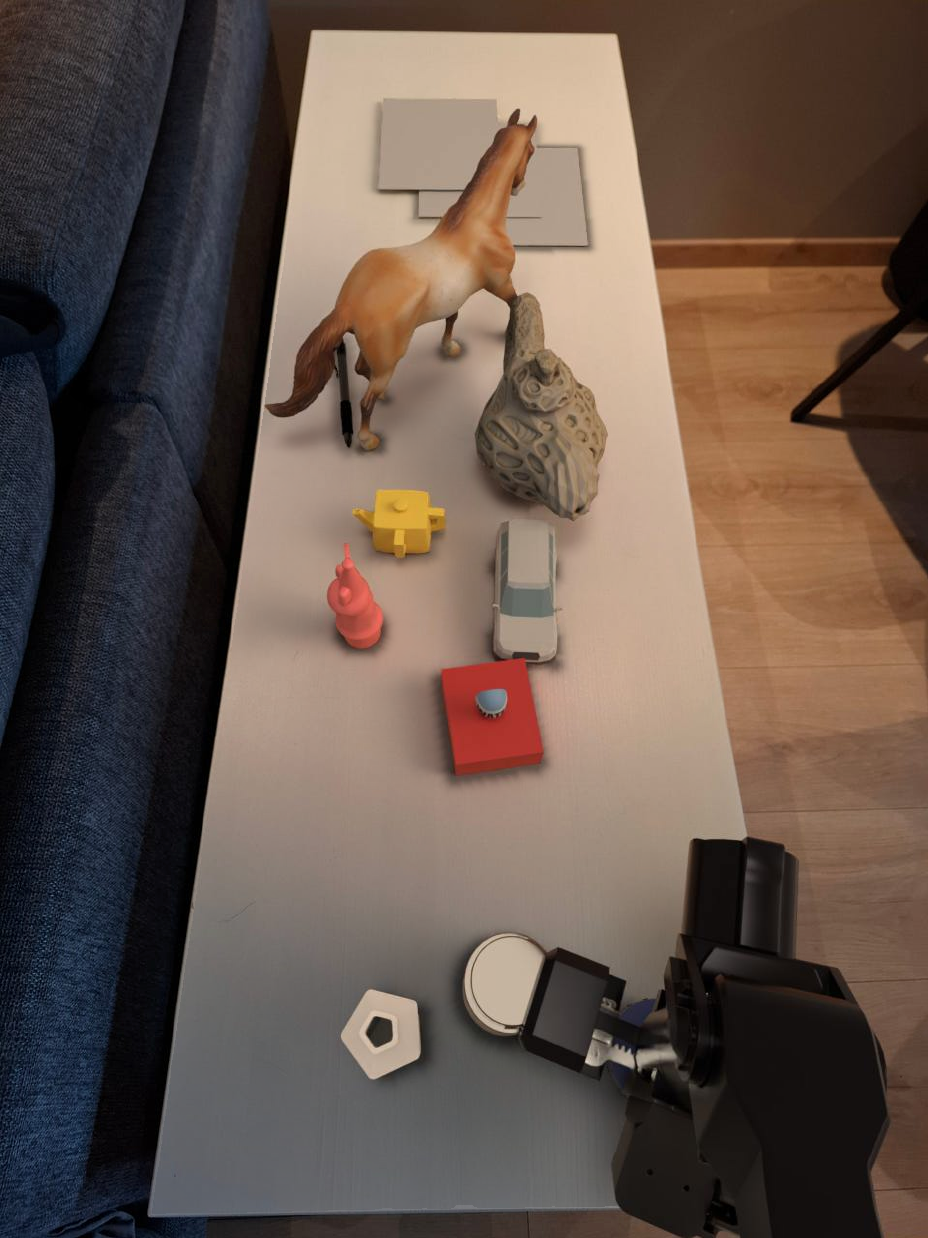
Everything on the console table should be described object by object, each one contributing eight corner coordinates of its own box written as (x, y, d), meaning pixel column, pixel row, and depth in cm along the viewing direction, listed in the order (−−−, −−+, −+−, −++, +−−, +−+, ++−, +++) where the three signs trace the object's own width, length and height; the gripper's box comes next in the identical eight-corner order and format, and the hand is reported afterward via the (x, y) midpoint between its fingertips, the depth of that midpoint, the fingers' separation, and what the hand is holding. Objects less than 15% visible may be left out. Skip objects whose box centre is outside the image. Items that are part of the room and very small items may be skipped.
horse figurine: (508, 290, 92) (522, 99, 73) (559, 330, 89) (588, 143, 71) (274, 445, 82) (224, 271, 64) (325, 495, 80) (287, 328, 61)
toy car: (489, 669, 72) (491, 644, 67) (492, 539, 78) (495, 508, 73) (557, 672, 72) (565, 647, 67) (556, 541, 78) (562, 510, 73)
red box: (540, 763, 68) (548, 737, 63) (455, 775, 68) (456, 750, 62) (521, 671, 72) (528, 639, 66) (441, 682, 71) (440, 651, 66)
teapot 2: (623, 549, 77) (660, 444, 64) (499, 571, 76) (510, 468, 63) (563, 372, 87) (584, 247, 73) (451, 389, 86) (451, 266, 72)
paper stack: (572, 104, 106) (573, 99, 105) (587, 245, 95) (588, 240, 94) (383, 103, 106) (383, 97, 105) (376, 244, 94) (375, 239, 94)
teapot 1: (353, 568, 76) (347, 537, 71) (359, 514, 79) (353, 480, 74) (444, 571, 76) (443, 540, 71) (446, 516, 79) (446, 483, 74)
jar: (548, 1036, 60) (562, 1034, 52) (461, 1035, 59) (463, 1033, 52) (545, 944, 62) (558, 930, 55) (462, 943, 62) (464, 928, 54)
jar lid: (643, 977, 60) (649, 975, 58) (724, 1050, 58) (732, 1050, 56) (584, 1057, 58) (588, 1058, 56) (666, 1136, 56) (672, 1139, 54)
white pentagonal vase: (354, 1065, 59) (325, 1069, 45) (371, 997, 60) (349, 981, 47) (419, 1082, 58) (409, 1092, 45) (434, 1013, 60) (430, 1002, 47)
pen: (330, 342, 88) (328, 333, 87) (346, 340, 88) (345, 332, 87) (337, 451, 82) (336, 443, 81) (355, 449, 82) (354, 442, 81)
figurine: (334, 613, 74) (315, 539, 63) (382, 606, 74) (370, 532, 64) (339, 656, 72) (320, 587, 62) (388, 649, 73) (377, 579, 62)
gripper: (493, 1151, 43) (482, 1127, 57) (870, 1317, 40) (761, 1248, 54) (561, 930, 47) (536, 957, 61) (902, 1065, 45) (794, 1061, 59)
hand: (651, 1054), depth 59 cm, fingers closed on jar lid, 6 cm apart
